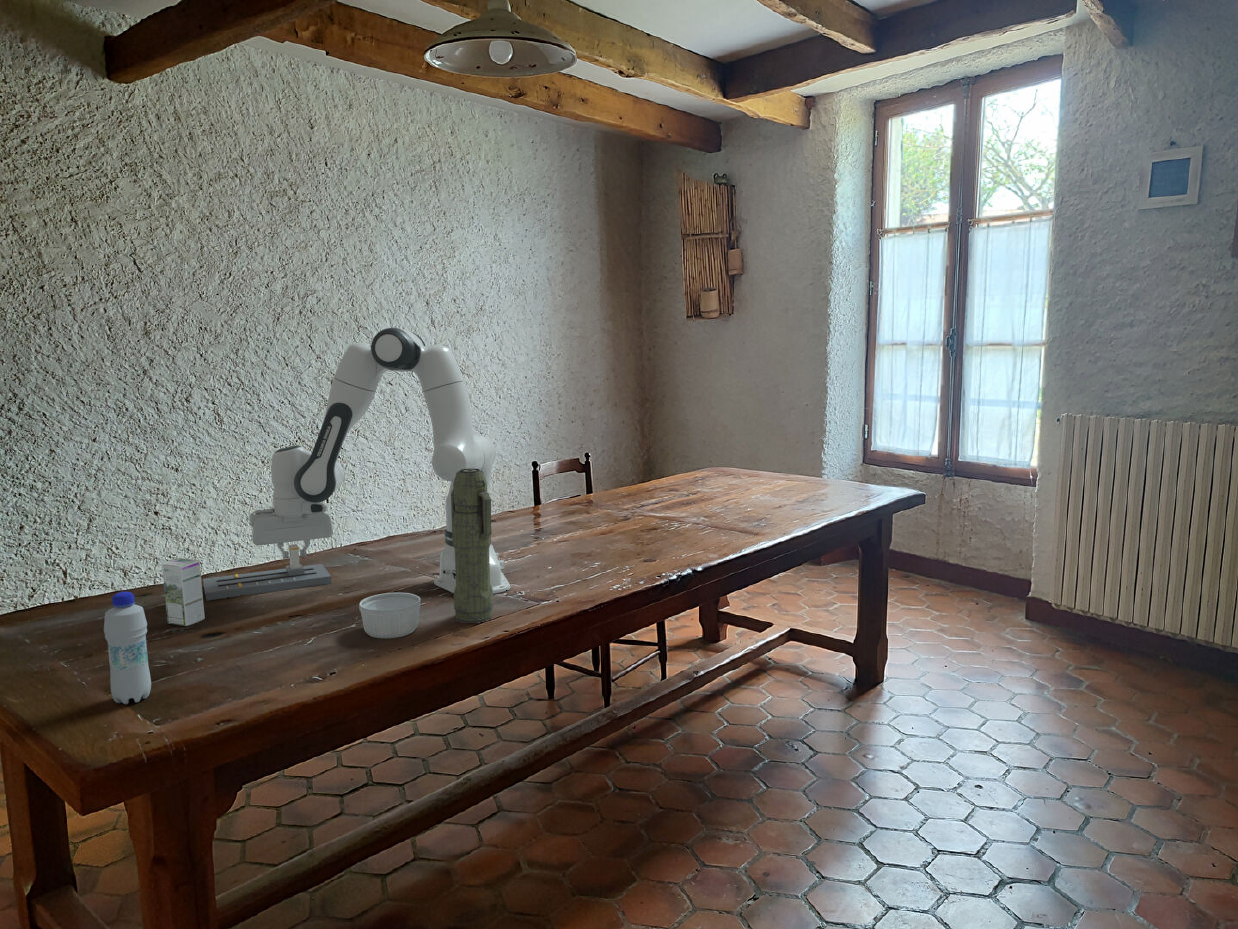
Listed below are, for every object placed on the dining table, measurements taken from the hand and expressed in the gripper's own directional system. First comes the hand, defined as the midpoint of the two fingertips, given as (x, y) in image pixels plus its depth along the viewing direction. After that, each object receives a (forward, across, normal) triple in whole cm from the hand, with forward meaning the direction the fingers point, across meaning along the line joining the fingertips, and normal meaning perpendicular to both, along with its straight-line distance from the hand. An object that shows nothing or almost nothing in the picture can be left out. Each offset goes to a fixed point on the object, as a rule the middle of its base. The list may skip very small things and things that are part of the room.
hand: (294, 557), depth 222 cm
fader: (+4, 0, 0) cm, 4 cm away
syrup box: (+7, -27, -22) cm, 35 cm away
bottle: (+7, -37, -64) cm, 74 cm away
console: (+7, -7, 0) cm, 10 cm away
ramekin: (+7, +13, -51) cm, 53 cm away
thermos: (+7, +32, -52) cm, 61 cm away
